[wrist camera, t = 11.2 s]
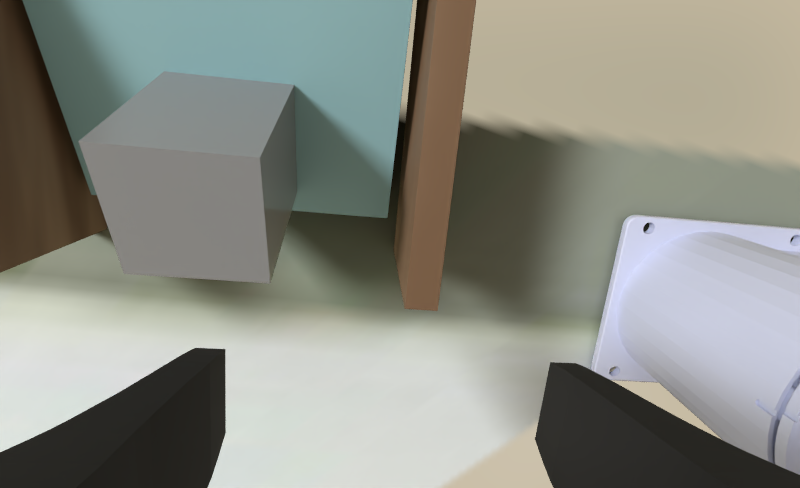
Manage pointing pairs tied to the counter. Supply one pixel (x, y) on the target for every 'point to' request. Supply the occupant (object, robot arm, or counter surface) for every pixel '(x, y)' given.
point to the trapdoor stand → (81, 212)
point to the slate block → (197, 176)
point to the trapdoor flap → (248, 75)
